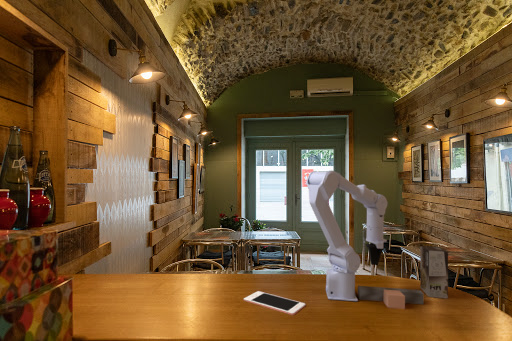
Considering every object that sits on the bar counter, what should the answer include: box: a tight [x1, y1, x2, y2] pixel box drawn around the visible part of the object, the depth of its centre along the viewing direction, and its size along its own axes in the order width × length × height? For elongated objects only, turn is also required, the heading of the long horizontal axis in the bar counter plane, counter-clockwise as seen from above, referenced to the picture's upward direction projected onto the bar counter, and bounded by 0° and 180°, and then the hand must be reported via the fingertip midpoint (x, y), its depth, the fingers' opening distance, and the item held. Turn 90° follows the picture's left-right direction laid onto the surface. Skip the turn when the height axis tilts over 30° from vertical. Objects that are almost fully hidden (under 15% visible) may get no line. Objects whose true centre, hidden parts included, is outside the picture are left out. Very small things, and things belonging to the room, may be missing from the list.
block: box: [382, 290, 406, 310], centre depth 97 cm, size 5×5×4 cm
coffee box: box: [419, 245, 449, 299], centre depth 109 cm, size 9×6×16 cm
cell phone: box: [243, 290, 306, 316], centre depth 96 cm, size 9×18×1 cm, turn 56°
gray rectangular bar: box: [357, 285, 424, 305], centre depth 101 cm, size 20×3×4 cm, turn 83°
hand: (374, 264), depth 109 cm, fingers closed
